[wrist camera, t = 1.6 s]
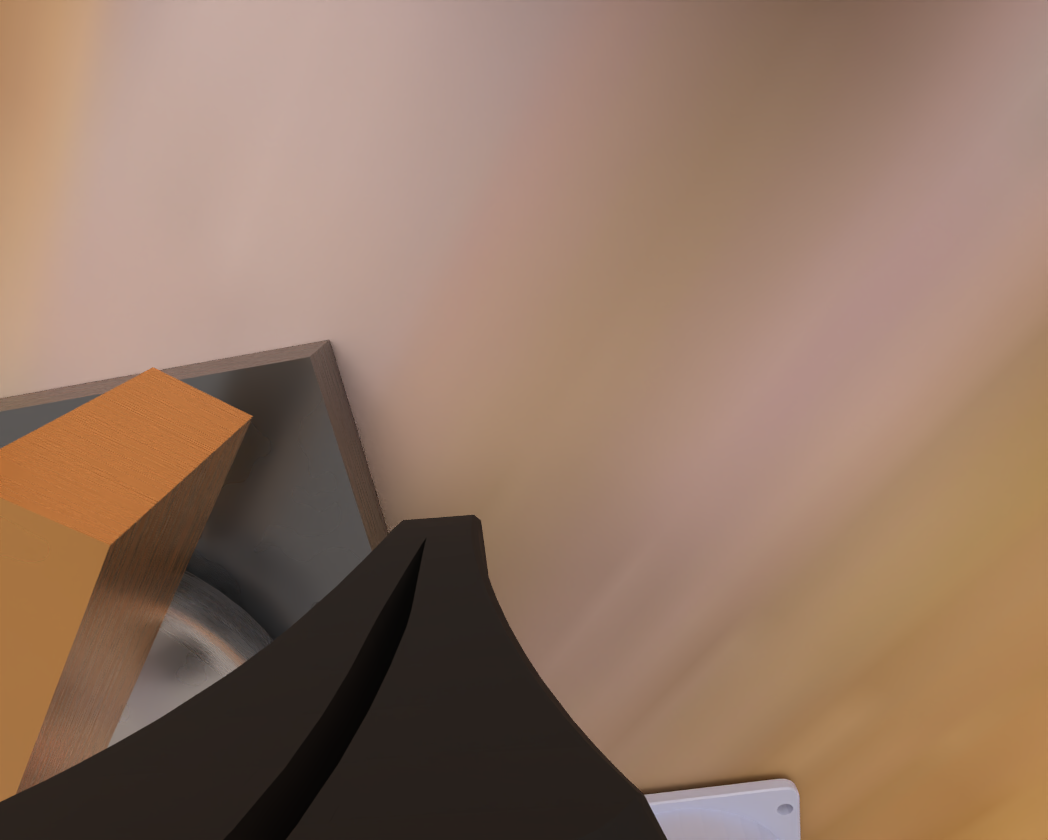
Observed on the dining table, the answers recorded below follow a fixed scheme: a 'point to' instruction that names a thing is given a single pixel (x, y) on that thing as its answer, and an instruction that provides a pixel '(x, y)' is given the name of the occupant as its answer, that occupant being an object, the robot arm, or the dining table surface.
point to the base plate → (265, 478)
